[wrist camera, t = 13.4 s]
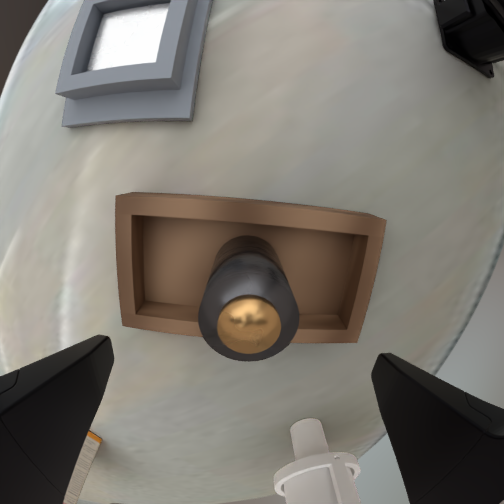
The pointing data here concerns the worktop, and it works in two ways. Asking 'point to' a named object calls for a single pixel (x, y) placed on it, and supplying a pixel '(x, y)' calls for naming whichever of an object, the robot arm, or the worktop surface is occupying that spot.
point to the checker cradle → (134, 68)
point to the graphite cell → (248, 302)
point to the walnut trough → (233, 225)
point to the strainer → (317, 469)
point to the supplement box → (82, 468)
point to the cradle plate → (128, 37)
